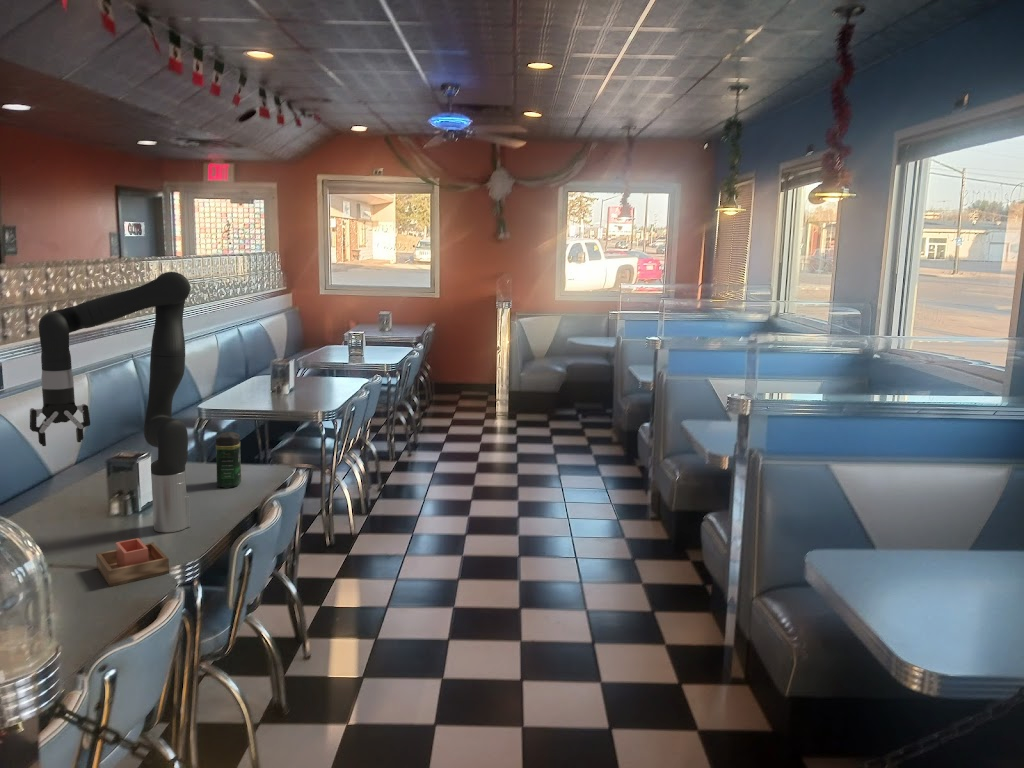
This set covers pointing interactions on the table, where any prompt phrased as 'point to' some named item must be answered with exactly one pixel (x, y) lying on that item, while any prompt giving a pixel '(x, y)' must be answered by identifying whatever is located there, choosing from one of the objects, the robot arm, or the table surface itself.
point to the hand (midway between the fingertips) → (61, 443)
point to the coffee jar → (228, 459)
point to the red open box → (131, 552)
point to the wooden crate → (132, 566)
